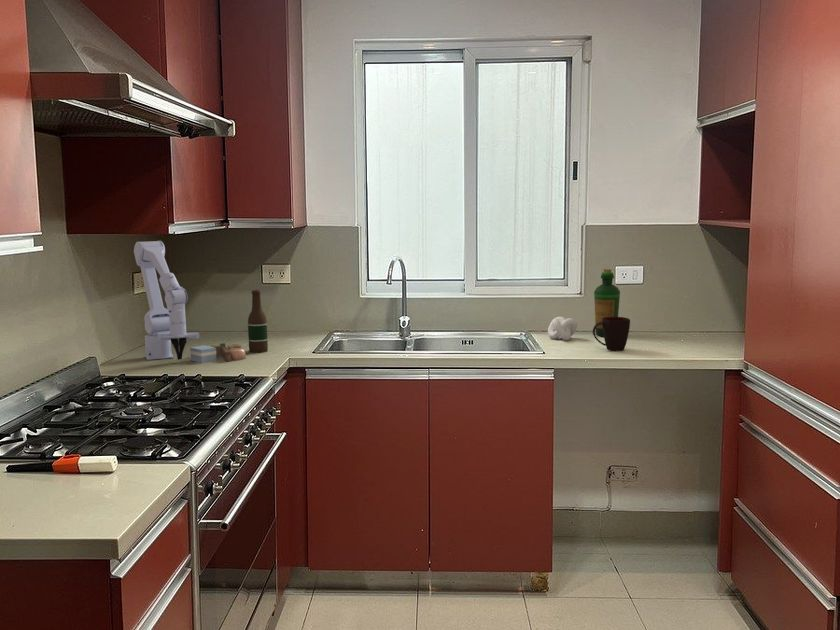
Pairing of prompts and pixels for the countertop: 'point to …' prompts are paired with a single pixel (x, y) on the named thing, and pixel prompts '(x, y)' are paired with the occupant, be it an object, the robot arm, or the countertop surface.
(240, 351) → the pink rounded block
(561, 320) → the white lumpy piece
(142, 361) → the countertop surface
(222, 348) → the display stand
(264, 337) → the beer bottle
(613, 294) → the bottle
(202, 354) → the carton
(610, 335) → the cup
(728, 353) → the countertop surface
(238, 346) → the maple block
